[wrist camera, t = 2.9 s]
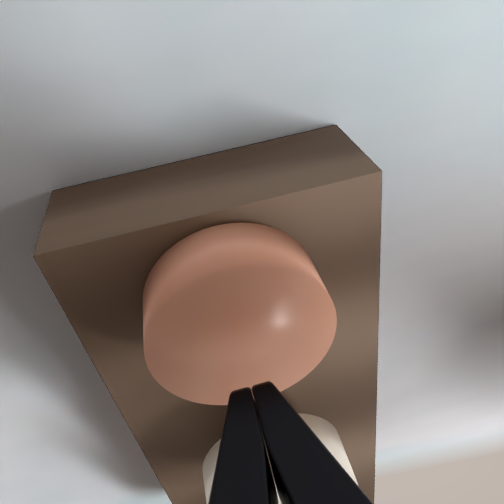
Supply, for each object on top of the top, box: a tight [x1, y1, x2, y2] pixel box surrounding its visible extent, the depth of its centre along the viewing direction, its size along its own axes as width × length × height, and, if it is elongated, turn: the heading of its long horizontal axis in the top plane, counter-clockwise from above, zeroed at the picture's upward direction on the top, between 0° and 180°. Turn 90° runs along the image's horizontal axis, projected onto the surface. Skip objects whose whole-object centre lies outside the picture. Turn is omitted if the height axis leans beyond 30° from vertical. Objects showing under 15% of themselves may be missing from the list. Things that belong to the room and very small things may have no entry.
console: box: [33, 125, 382, 504], centre depth 17 cm, size 17×8×3 cm, turn 8°
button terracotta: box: [143, 223, 337, 405], centre depth 11 cm, size 4×4×2 cm
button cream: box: [202, 413, 358, 504], centre depth 14 cm, size 4×4×2 cm
